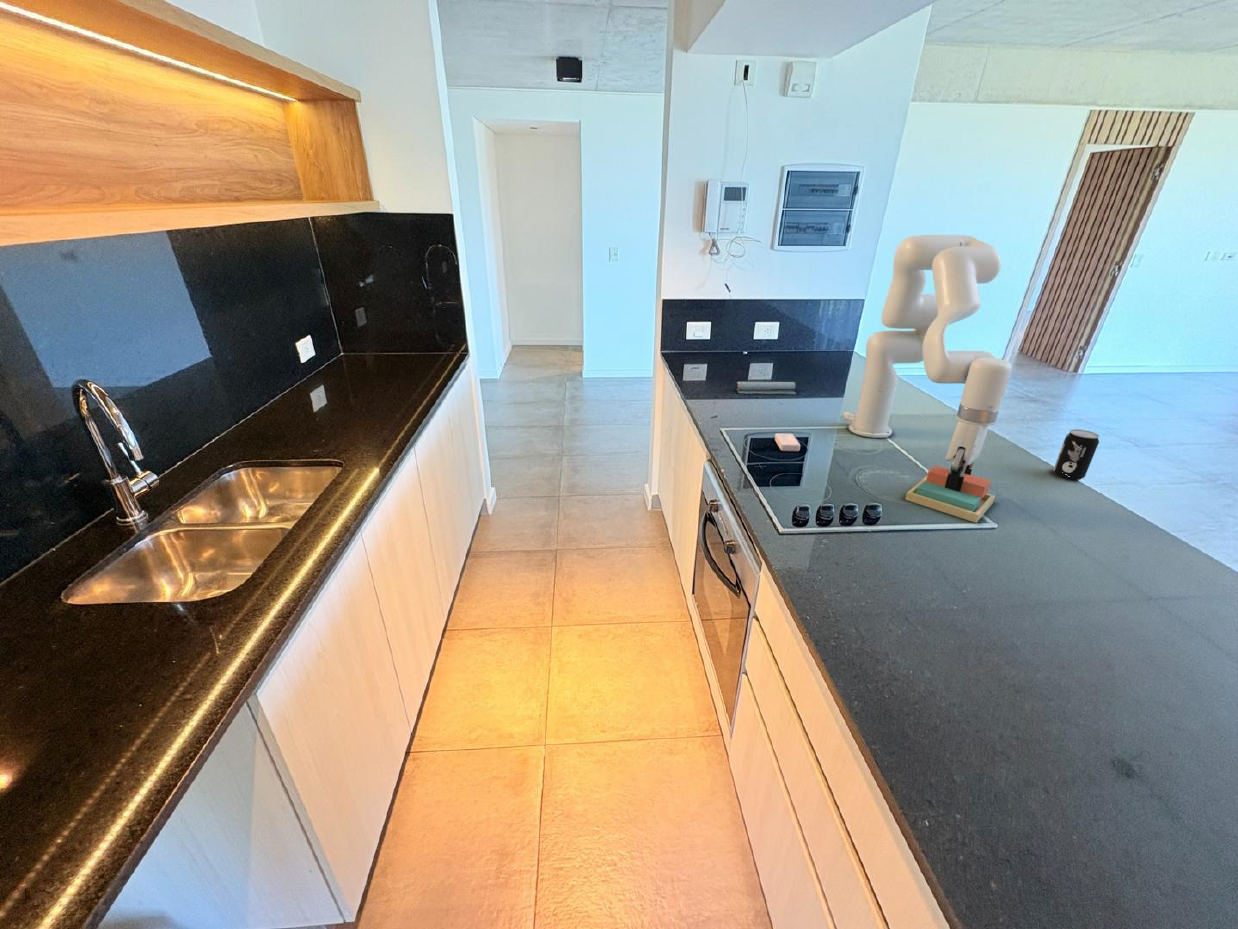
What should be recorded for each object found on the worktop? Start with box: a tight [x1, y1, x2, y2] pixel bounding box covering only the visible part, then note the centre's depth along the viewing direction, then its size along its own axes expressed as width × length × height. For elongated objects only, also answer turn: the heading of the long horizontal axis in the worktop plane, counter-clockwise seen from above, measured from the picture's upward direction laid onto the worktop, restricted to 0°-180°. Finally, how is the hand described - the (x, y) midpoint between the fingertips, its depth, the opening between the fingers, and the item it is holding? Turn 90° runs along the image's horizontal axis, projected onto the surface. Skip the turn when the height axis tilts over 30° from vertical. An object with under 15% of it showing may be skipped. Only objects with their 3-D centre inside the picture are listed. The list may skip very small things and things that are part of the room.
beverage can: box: [1052, 428, 1100, 481], centre depth 136 cm, size 7×7×12 cm
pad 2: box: [916, 481, 981, 512], centre depth 124 cm, size 12×5×3 cm, turn 44°
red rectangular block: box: [926, 465, 992, 499], centre depth 126 cm, size 12×5×3 cm, turn 43°
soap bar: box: [774, 432, 801, 452], centre depth 157 cm, size 5×9×2 cm, turn 177°
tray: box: [904, 475, 996, 524], centre depth 126 cm, size 15×13×2 cm
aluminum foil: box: [735, 381, 797, 395], centre depth 207 cm, size 23×7×3 cm, turn 88°
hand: (956, 485), depth 126 cm, fingers closed on red rectangular block, 5 cm apart
